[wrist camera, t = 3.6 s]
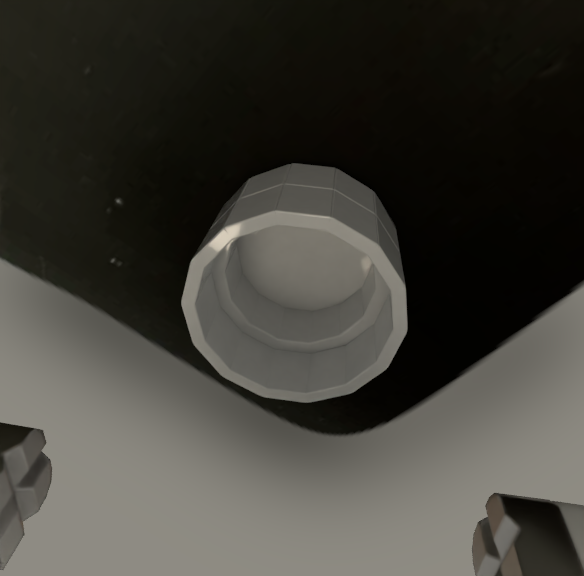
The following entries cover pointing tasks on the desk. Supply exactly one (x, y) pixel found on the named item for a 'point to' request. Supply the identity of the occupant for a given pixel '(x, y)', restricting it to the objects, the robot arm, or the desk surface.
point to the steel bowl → (298, 286)
